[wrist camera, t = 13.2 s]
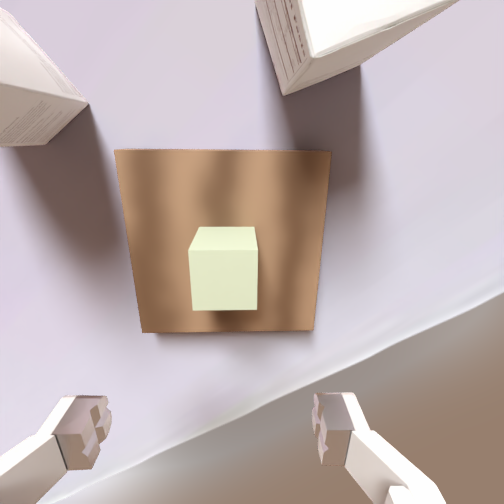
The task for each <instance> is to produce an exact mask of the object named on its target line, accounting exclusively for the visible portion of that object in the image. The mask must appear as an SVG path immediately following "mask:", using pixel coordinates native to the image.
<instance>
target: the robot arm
mask: <svg viewBox="0 0 504 504" xmlns="http://www.w3.org/2000/svg"><path fill="white" fill-rule="evenodd" d="M107 404H108V399H107V396H88V395H66V396H64V397H63V398H61V400H60V401H59V402H58V404H57V405H56V407H55V408H54V409H53V411H52V412H51V414H50V415H49V417H48V418H47V419H46V421H45V422H44V424H43V425H42V426H41V428H40V429H39V431H38V432H37V433H36V435H32V436H30V437H28V438H27V439H25V440H24V441H22V442H21V443H20V444H18V445H17V446H15V447H14V448H12V449H11V450H9V451H8V452H7V453H5V454H4V455H2V456H1V457H0V504H36V503H37V502H38V501H39V500H40V499H41V498H42V497H43V496H44V495H45V494H46V493H47V492H48V491H49V490H50V489H51V488H52V487H53V486H54V485H55V484H56V483H57V482H58V481H59V480H60V479H61V478H62V477H63V476H64V475H65V474H66V473H67V470H86V469H92V467H93V465H94V463H95V461H96V459H97V457H98V455H99V452H100V446H99V444H100V443H101V442H102V441H104V440H105V439H106V437H107V435H108V433H109V430H110V426H111V417H112V416H111V411H110V410H109V409H108V408H106V406H107ZM314 404H315V406H314V408H313V409H312V424H313V430H314V435H315V436H316V437H317V438H318V446H317V447H318V452H319V456H320V460H321V464H322V465H336V466H338V465H339V466H345V468H346V469H347V470H348V472H349V473H350V474H351V475H352V477H353V478H354V479H355V480H356V482H357V483H358V484H359V485H360V487H361V488H362V489H363V490H364V492H365V493H366V494H367V496H368V497H369V498H370V499H371V501H372V502H373V503H374V504H446V502H445V501H444V499H443V497H442V495H441V493H440V492H439V490H438V488H437V486H436V484H435V483H433V482H432V481H431V480H430V479H429V478H428V477H427V476H426V475H424V474H423V473H422V472H421V471H420V470H419V469H418V468H416V467H415V466H414V465H413V464H412V463H410V462H409V461H408V460H407V459H406V458H405V457H404V456H403V455H402V454H400V453H399V452H398V451H397V450H396V449H395V448H394V447H392V446H391V445H390V444H389V443H388V442H387V441H386V440H384V439H383V438H382V437H381V436H380V435H379V434H378V433H376V432H375V431H370V428H369V426H368V424H367V421H366V419H365V417H364V415H363V412H362V410H361V408H360V405H359V403H358V401H357V398H356V396H355V394H354V393H353V392H351V393H349V392H348V393H339V392H338V393H315V394H314Z"/></svg>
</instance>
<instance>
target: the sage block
mask: <svg viewBox="0 0 504 504" xmlns="http://www.w3.org/2000/svg"><path fill="white" fill-rule="evenodd" d="M188 256H189V269H190V282H191V295H192V308H193V311H200V310H257V282H258V247H257V240H256V234H255V228H254V227H199V228H198V231H197V233H196V235H195V237H194V239H193V241H192V243H191V245H190V247H189V250H188Z"/></svg>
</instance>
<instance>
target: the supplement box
mask: <svg viewBox="0 0 504 504" xmlns="http://www.w3.org/2000/svg"><path fill="white" fill-rule="evenodd" d="M458 1H459V0H255V5H256V8H257V11H258V14H259V17H260V21H261V24H262V28H263V31H264V34H265V38H266V41H267V44H268V48H269V51H270V55H271V58H272V62H273V65H274V68H275V72H276V75H277V79H278V82H279V85H280V89H281V92H282V95H283V96H285V95H288V94H291V93H293V92H296V91H299V90H301V89H304V88H306V87H309V86H311V85H314V84H316V83H319V82H321V81H324V80H326V79H329V78H331V77H333V76H336V75H338V74H340V73H343V72H345V71H347V70H350V69H352V68H354V67H357V66H359V65H361V64H362V63H364V62H365V61H367V60H368V59H370V58H371V57H373V56H374V55H376V54H377V53H379V52H380V51H382V50H384V49H385V48H387V47H388V46H390V45H391V44H393V43H394V42H396V41H398V40H399V39H401V38H402V37H404V36H405V35H407V34H408V33H410V32H412V31H413V30H415V29H416V28H418V27H419V26H421V25H422V24H424V23H425V22H427V21H428V20H430V19H432V18H433V17H435V16H436V15H438V14H439V13H441V12H442V11H444V10H445V9H447V8H448V7H450V6H451V5H453V4H454V3H456V2H458Z"/></svg>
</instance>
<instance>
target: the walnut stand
mask: <svg viewBox="0 0 504 504" xmlns="http://www.w3.org/2000/svg"><path fill="white" fill-rule="evenodd" d="M331 154H332V152H330V151H323V150H208V149H119V150H114V155H115V161H116V167H117V174H118V180H119V187H120V193H121V200H122V206H123V213H124V219H125V225H126V232H127V238H128V245H129V251H130V258H131V264H132V270H133V277H134V283H135V290H136V296H137V303H138V309H139V315H140V322H141V328H142V333H169V332H234V331H298V330H313V328H314V319H315V309H316V299H317V290H318V280H319V270H320V260H321V251H322V241H323V231H324V222H325V212H326V202H327V193H328V183H329V173H330V163H331ZM199 227H254V228H255V234H256V240H257V247H258V282H257V310H200V311H193V308H192V295H191V282H190V269H189V256H188V250H189V247H190V245H191V243H192V241H193V239H194V237H195V235H196V233H197V231H198V228H199Z"/></svg>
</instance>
